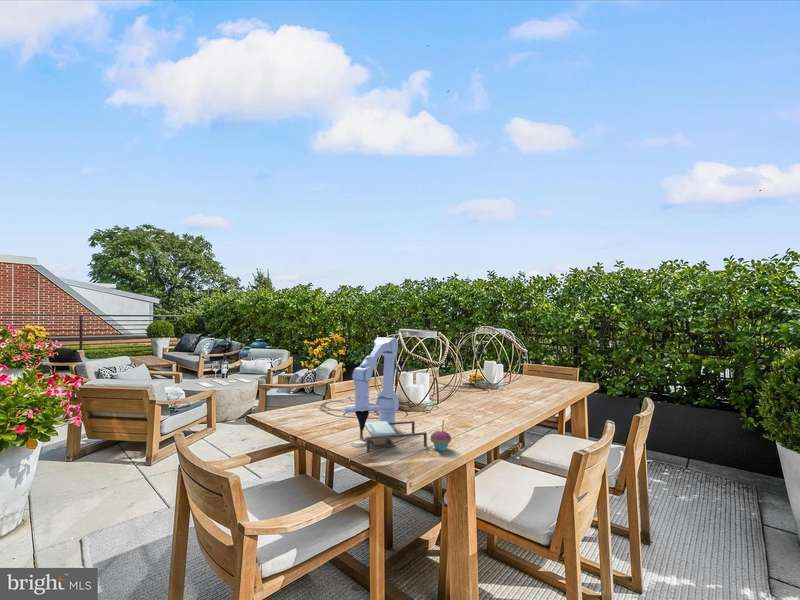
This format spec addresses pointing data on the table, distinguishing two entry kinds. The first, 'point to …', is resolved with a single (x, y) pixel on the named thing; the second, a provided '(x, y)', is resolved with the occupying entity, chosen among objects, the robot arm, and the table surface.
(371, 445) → the puzzle board
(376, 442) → the block
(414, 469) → the table surface
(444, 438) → the cupcake
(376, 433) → the slide cover
